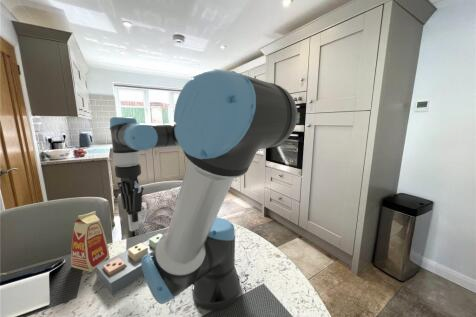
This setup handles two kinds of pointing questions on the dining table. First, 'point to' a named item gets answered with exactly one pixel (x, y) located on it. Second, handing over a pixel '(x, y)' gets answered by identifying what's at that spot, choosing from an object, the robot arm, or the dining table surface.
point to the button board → (122, 272)
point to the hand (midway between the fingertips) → (134, 229)
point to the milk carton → (88, 243)
